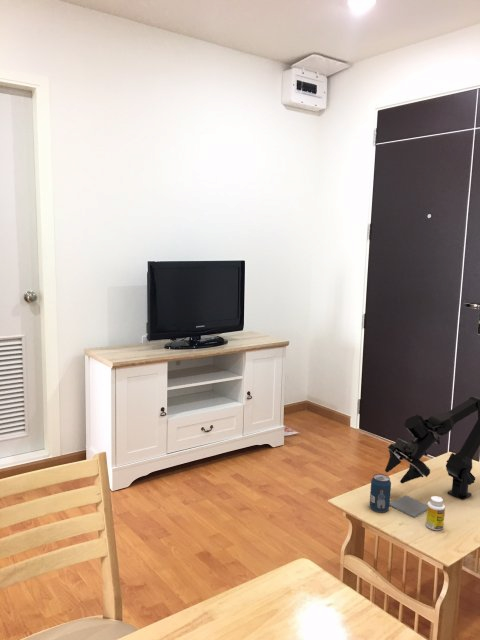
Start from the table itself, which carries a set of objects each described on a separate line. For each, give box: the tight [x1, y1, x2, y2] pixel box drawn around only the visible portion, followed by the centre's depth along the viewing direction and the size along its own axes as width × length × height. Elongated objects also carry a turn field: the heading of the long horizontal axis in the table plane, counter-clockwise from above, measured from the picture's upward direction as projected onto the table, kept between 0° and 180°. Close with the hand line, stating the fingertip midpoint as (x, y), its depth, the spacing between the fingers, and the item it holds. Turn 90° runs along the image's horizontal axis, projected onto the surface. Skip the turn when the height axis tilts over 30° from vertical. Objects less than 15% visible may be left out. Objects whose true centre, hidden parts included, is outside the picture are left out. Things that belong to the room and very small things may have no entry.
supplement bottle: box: [425, 495, 446, 531], centre depth 180 cm, size 6×6×10 cm
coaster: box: [389, 494, 428, 519], centre depth 194 cm, size 11×11×1 cm
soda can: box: [369, 473, 392, 513], centre depth 192 cm, size 7×7×12 cm
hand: (393, 477), depth 192 cm, fingers open, 9 cm apart
